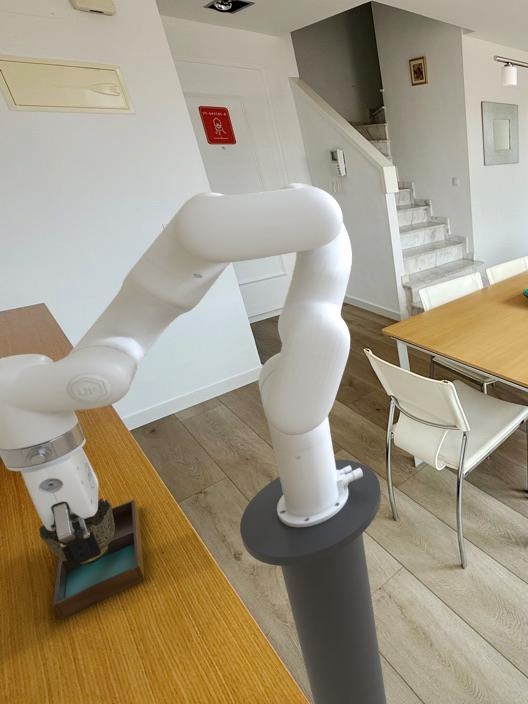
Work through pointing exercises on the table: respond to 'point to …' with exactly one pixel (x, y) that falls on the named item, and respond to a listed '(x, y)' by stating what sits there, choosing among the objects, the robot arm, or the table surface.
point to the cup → (98, 524)
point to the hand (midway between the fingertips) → (87, 540)
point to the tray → (103, 567)
